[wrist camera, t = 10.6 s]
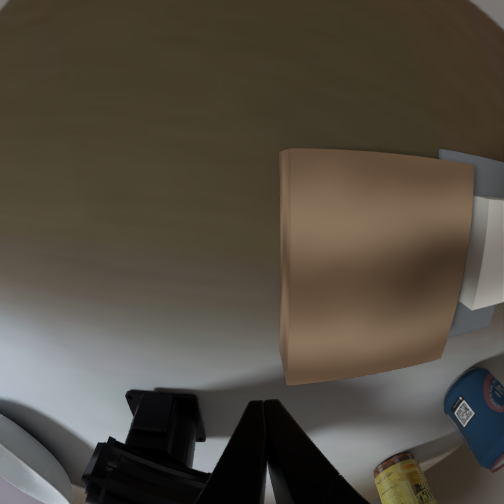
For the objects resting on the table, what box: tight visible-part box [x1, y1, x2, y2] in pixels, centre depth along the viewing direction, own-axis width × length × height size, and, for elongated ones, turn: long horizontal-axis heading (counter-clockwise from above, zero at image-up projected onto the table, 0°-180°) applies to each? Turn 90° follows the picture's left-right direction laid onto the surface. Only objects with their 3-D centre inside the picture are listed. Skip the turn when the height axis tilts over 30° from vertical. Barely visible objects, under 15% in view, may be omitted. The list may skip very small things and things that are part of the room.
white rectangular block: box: [459, 196, 504, 310], centre depth 18 cm, size 9×6×2 cm, turn 3°
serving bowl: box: [0, 414, 73, 504], centre depth 23 cm, size 21×21×7 cm
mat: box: [439, 149, 504, 338], centre depth 19 cm, size 16×10×1 cm, turn 2°
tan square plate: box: [279, 148, 474, 386], centre depth 17 cm, size 14×12×4 cm
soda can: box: [444, 368, 504, 473], centre depth 19 cm, size 7×7×12 cm
